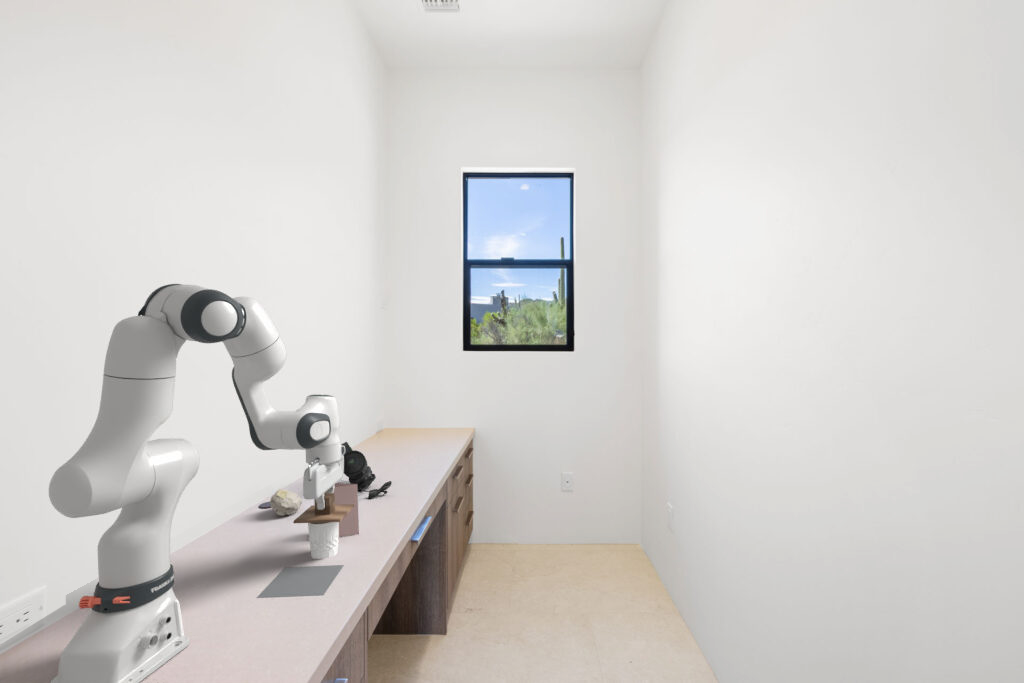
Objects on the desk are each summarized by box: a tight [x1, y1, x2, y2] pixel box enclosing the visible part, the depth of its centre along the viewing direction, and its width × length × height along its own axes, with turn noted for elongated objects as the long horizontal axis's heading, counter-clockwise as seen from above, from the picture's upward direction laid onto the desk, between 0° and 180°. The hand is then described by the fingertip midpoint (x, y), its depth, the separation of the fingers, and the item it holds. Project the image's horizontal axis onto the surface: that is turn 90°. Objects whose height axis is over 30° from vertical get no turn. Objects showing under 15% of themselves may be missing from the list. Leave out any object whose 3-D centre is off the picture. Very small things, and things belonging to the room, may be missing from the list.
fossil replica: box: [269, 488, 303, 517], centre depth 171 cm, size 12×8×10 cm
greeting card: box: [325, 482, 360, 538], centre depth 149 cm, size 11×7×15 cm, turn 74°
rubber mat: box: [256, 564, 344, 599], centre depth 121 cm, size 15×15×1 cm
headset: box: [340, 441, 392, 499], centre depth 194 cm, size 18×14×29 cm
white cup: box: [307, 522, 340, 560], centre depth 136 cm, size 8×8×10 cm
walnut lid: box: [292, 493, 354, 524], centre depth 136 cm, size 12×12×5 cm
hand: (325, 505), depth 136 cm, fingers closed on walnut lid, 4 cm apart
